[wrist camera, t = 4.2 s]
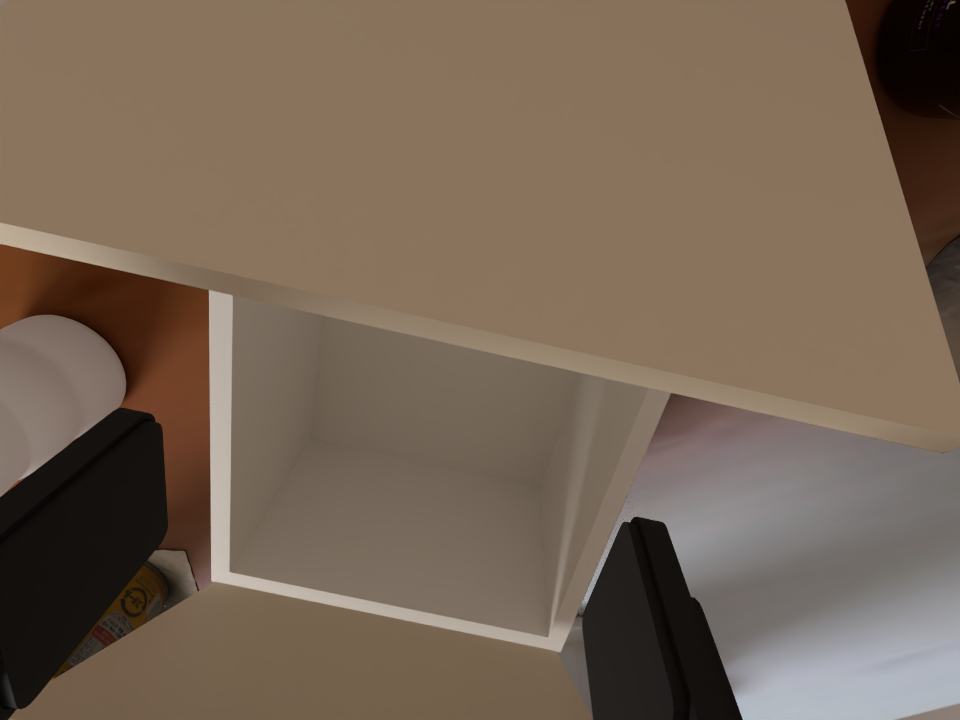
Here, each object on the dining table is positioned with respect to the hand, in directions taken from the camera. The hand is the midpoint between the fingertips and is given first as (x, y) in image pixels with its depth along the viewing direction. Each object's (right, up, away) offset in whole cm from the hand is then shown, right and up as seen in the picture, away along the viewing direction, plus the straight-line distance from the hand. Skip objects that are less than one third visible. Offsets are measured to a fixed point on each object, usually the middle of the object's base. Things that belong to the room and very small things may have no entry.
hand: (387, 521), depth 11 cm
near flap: (+2, +9, -1) cm, 9 cm away
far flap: (-2, -7, +7) cm, 10 cm away
